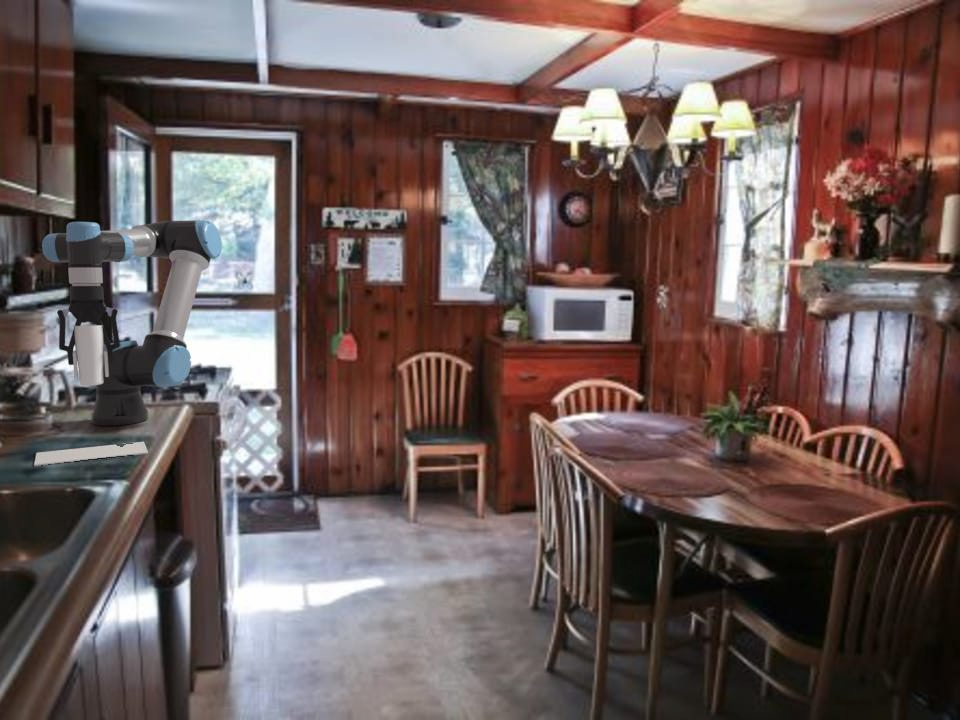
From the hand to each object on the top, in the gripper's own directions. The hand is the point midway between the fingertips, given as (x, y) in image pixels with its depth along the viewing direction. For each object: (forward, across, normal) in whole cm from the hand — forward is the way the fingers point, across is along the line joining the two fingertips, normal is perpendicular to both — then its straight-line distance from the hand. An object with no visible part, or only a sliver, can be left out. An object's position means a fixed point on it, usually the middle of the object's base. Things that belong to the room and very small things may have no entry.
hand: (91, 376), depth 198 cm
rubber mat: (+18, +1, +11) cm, 21 cm away
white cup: (+2, 0, 0) cm, 2 cm away
